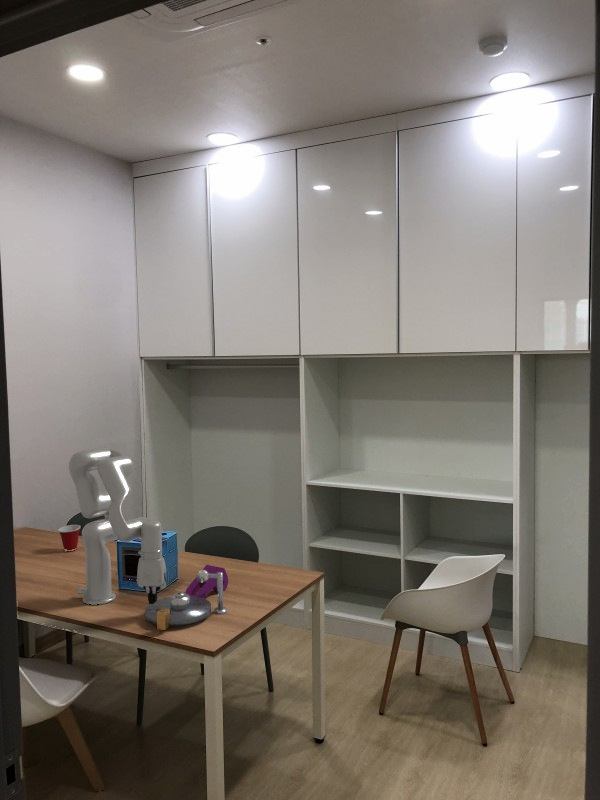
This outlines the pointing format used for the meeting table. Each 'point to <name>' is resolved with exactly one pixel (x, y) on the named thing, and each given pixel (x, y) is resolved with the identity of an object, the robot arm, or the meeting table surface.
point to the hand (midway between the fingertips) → (152, 602)
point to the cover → (179, 602)
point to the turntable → (177, 612)
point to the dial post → (203, 577)
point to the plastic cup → (69, 536)
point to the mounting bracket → (207, 583)
